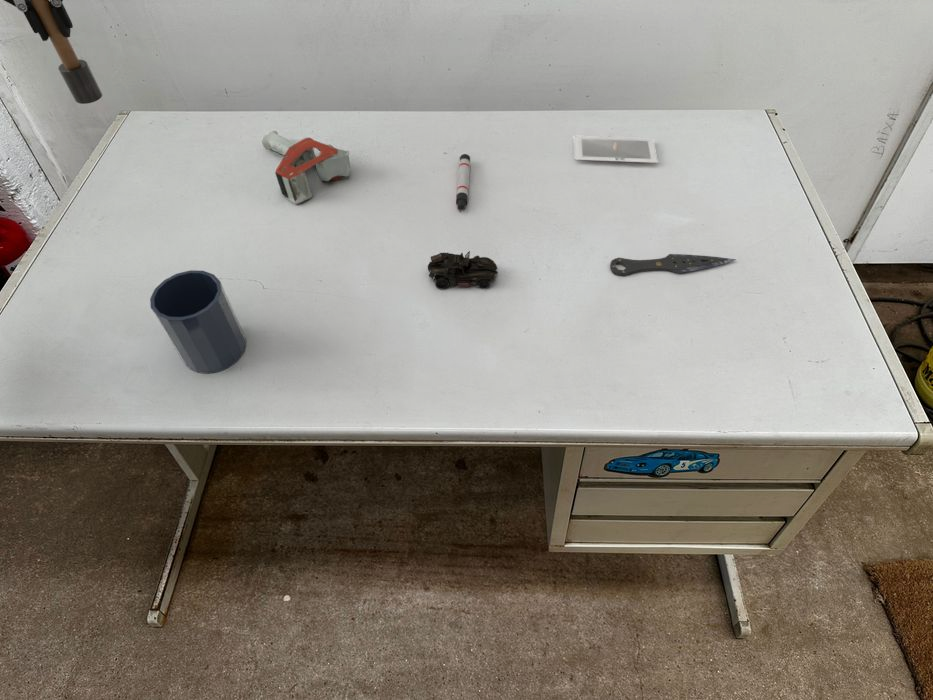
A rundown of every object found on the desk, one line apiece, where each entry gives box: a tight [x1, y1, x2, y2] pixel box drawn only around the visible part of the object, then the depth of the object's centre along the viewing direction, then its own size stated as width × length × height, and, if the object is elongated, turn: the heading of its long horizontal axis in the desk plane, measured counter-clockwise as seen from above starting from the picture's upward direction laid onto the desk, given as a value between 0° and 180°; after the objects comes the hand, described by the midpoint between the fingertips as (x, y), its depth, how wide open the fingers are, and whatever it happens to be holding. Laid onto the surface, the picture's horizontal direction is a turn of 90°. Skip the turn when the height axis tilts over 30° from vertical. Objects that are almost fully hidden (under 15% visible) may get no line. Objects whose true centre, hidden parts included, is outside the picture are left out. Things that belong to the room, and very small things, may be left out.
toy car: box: [427, 250, 499, 290], centre depth 92 cm, size 6×12×4 cm, turn 85°
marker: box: [455, 153, 471, 213], centre depth 107 cm, size 15×2×2 cm, turn 178°
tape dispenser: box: [261, 130, 351, 205], centre depth 109 cm, size 18×5×20 cm
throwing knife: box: [609, 253, 737, 277], centre depth 94 cm, size 4×20×1 cm, turn 95°
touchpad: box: [572, 134, 659, 164], centre depth 113 cm, size 8×15×2 cm, turn 86°
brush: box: [30, 0, 103, 105], centre depth 89 cm, size 4×4×15 cm
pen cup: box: [149, 269, 247, 374], centre depth 81 cm, size 9×9×11 cm
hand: (56, 34), depth 88 cm, fingers closed on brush, 2 cm apart
